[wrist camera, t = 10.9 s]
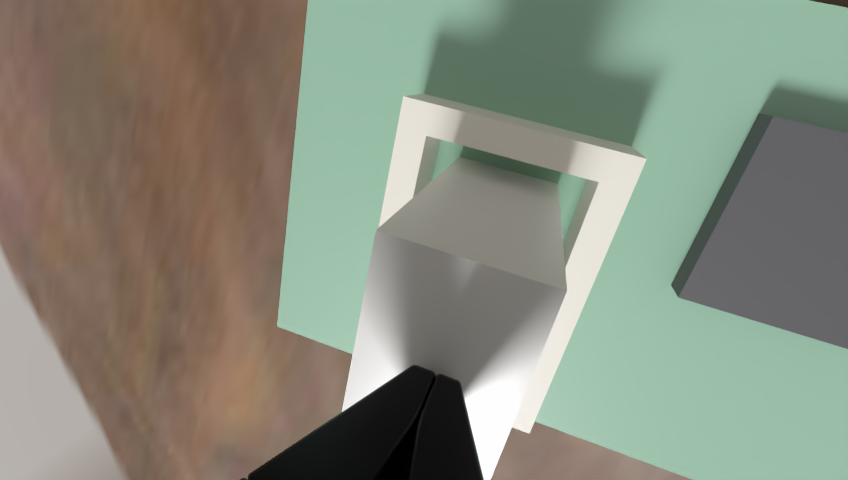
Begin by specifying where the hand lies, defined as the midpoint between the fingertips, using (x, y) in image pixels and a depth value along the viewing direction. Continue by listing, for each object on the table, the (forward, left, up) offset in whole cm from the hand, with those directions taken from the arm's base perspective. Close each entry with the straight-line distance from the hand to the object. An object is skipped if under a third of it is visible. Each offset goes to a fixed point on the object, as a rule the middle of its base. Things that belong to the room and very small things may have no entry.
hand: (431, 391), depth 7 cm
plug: (0, 0, -7) cm, 7 cm away
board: (-3, -1, -8) cm, 9 cm away
